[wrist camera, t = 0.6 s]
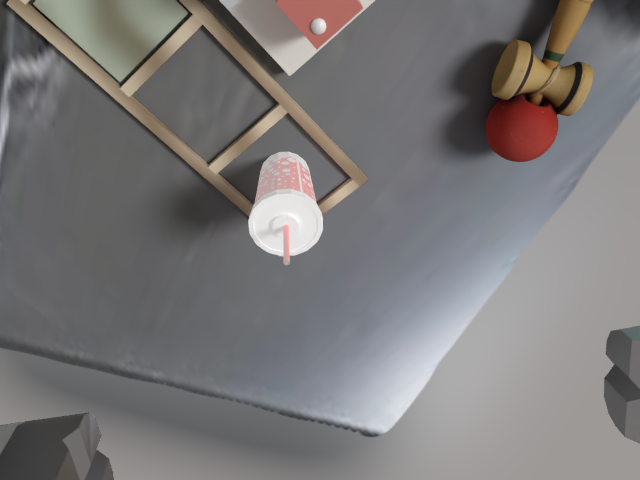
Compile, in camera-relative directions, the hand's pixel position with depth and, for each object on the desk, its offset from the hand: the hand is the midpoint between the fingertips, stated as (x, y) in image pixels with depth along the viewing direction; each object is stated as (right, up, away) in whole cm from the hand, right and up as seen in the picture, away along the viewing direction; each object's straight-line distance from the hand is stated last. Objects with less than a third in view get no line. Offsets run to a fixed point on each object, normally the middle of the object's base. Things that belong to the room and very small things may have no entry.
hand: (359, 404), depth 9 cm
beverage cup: (-4, +9, +47) cm, 48 cm away
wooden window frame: (-10, +15, +42) cm, 46 cm away
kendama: (+18, +19, +42) cm, 50 cm away
